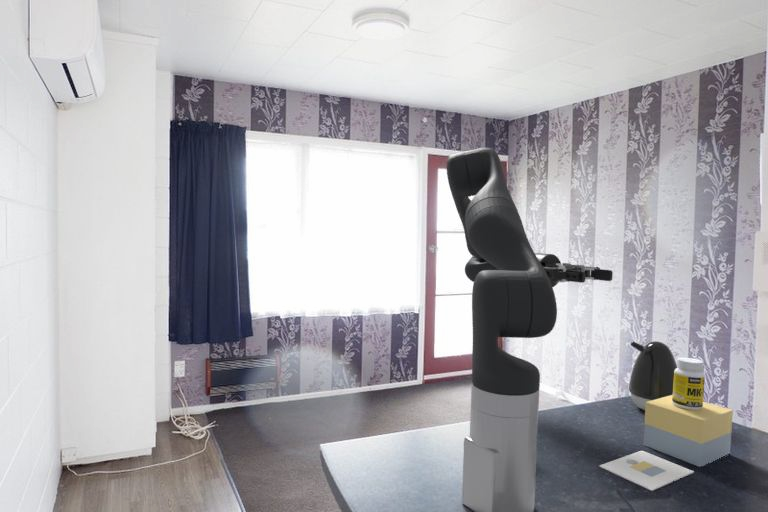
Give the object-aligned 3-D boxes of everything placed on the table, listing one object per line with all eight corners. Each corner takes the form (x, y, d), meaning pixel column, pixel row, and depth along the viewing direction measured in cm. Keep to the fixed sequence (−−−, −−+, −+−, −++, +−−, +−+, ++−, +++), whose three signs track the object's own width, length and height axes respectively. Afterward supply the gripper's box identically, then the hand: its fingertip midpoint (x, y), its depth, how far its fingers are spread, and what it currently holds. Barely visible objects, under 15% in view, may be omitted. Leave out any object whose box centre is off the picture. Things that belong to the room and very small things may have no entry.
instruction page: (651, 491, 78) (651, 489, 78) (599, 466, 85) (599, 464, 85) (693, 472, 84) (694, 470, 84) (641, 451, 92) (641, 449, 92)
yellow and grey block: (700, 467, 86) (703, 420, 86) (643, 444, 95) (645, 402, 94) (729, 454, 91) (732, 410, 91) (673, 434, 100) (675, 393, 99)
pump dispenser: (633, 398, 121) (636, 334, 120) (683, 409, 114) (688, 341, 114) (621, 409, 113) (625, 341, 112) (675, 422, 106) (679, 349, 106)
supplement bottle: (687, 411, 90) (690, 364, 89) (665, 402, 94) (668, 357, 94) (709, 409, 91) (712, 362, 90) (687, 400, 96) (689, 356, 95)
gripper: (512, 253, 112) (575, 258, 98) (556, 252, 120) (621, 257, 106) (511, 287, 112) (573, 297, 99) (555, 284, 120) (619, 293, 106)
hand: (598, 276), depth 102 cm, fingers open, 8 cm apart
